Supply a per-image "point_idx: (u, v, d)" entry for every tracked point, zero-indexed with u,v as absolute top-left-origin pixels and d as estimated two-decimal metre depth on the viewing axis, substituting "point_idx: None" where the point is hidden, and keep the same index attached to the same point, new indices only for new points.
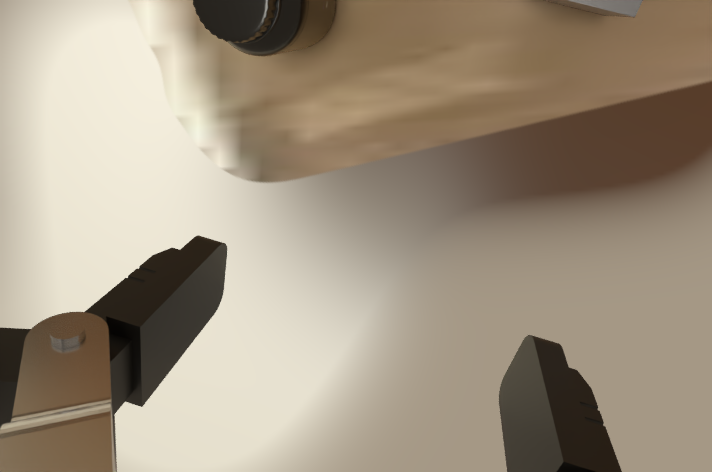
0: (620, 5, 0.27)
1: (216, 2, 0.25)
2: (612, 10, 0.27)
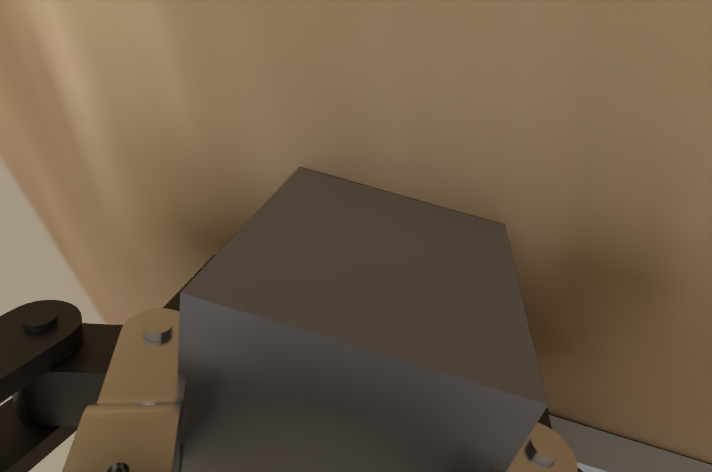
0: None
1: None
2: None
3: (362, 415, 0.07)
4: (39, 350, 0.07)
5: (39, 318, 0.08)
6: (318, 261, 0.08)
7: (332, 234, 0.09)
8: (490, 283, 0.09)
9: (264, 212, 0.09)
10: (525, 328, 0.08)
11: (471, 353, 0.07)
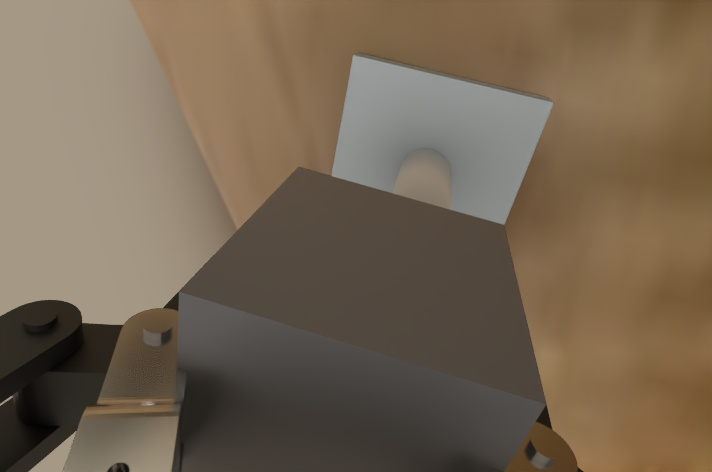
0: None
1: None
2: None
3: (360, 414, 0.07)
4: (39, 350, 0.07)
5: (40, 318, 0.08)
6: (316, 260, 0.08)
7: (331, 233, 0.09)
8: (489, 283, 0.09)
9: (263, 211, 0.09)
10: (523, 328, 0.08)
11: (470, 352, 0.07)
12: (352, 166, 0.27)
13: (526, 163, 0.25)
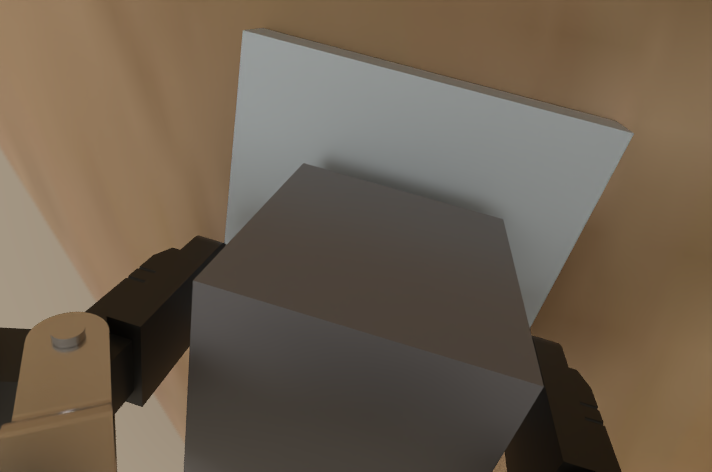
0: (202, 462, 0.09)
1: None
2: (187, 447, 0.09)
3: (366, 397, 0.07)
4: None
5: None
6: (323, 252, 0.09)
7: (336, 227, 0.10)
8: (489, 274, 0.09)
9: (271, 205, 0.10)
10: (522, 315, 0.08)
11: (470, 338, 0.07)
12: None
13: (570, 243, 0.14)
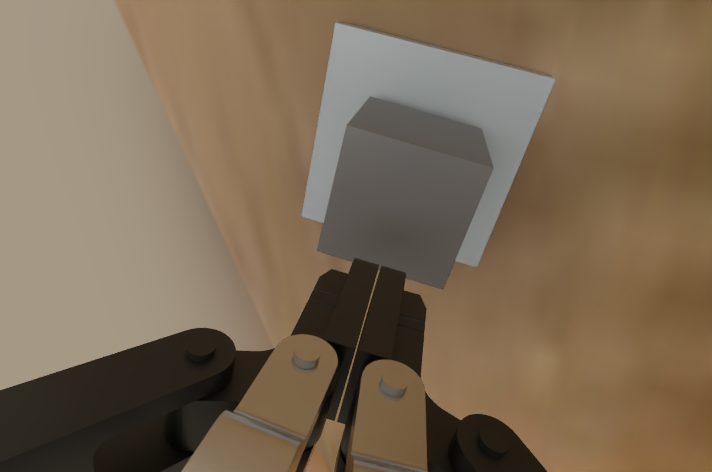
0: (331, 232, 0.19)
1: None
2: (324, 223, 0.19)
3: (417, 182, 0.17)
4: (208, 381, 0.07)
5: (200, 347, 0.08)
6: (394, 125, 0.18)
7: (397, 119, 0.19)
8: (472, 142, 0.19)
9: (363, 109, 0.19)
10: (487, 154, 0.18)
11: (464, 154, 0.17)
12: (334, 147, 0.25)
13: (524, 147, 0.23)
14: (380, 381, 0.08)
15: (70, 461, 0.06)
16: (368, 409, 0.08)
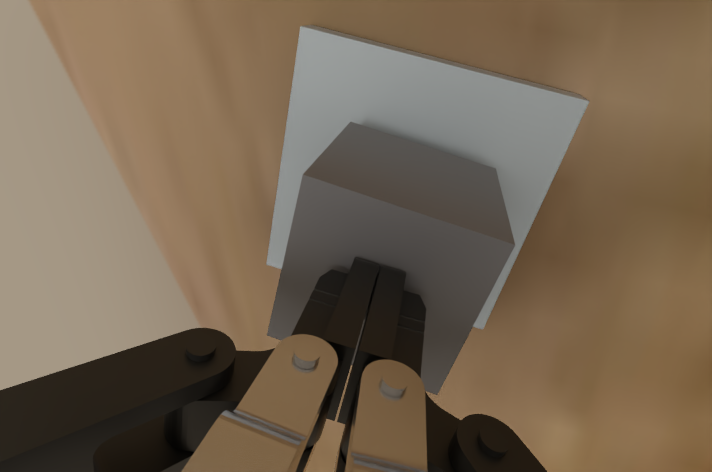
0: (285, 313, 0.14)
1: None
2: (276, 302, 0.13)
3: (404, 257, 0.12)
4: (208, 381, 0.07)
5: (200, 348, 0.08)
6: (376, 171, 0.13)
7: (381, 159, 0.14)
8: (484, 194, 0.14)
9: (336, 143, 0.14)
10: (505, 216, 0.13)
11: (472, 220, 0.12)
12: None
13: (545, 187, 0.18)
14: (380, 381, 0.08)
15: (70, 461, 0.06)
16: (368, 409, 0.08)
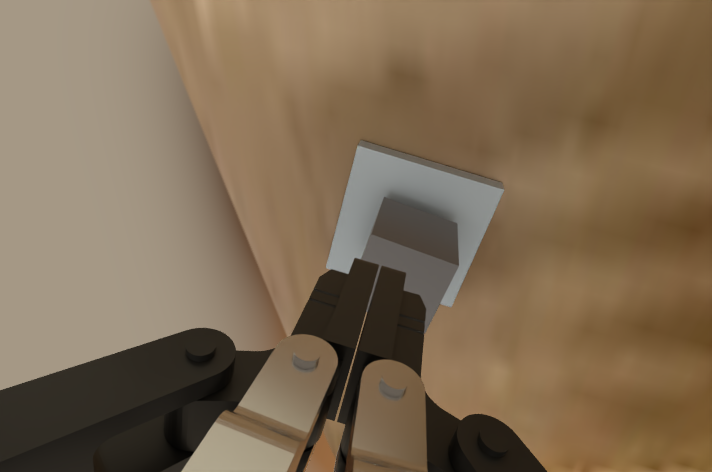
0: None
1: None
2: None
3: (412, 269, 0.28)
4: (207, 381, 0.07)
5: (200, 347, 0.08)
6: (400, 229, 0.29)
7: (401, 222, 0.30)
8: (449, 240, 0.29)
9: (380, 213, 0.30)
10: (457, 251, 0.28)
11: (442, 254, 0.27)
12: (352, 223, 0.35)
13: (483, 230, 0.34)
14: (380, 381, 0.08)
15: (70, 461, 0.06)
16: (368, 409, 0.08)
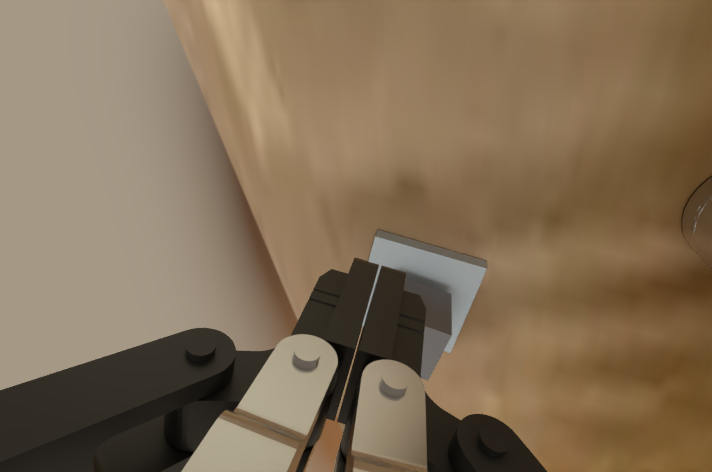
0: None
1: None
2: None
3: None
4: (208, 380, 0.07)
5: (200, 347, 0.08)
6: None
7: None
8: (445, 312, 0.40)
9: None
10: (450, 322, 0.39)
11: (439, 326, 0.38)
12: (372, 290, 0.46)
13: (473, 297, 0.44)
14: (380, 381, 0.08)
15: (70, 461, 0.06)
16: (368, 409, 0.08)
